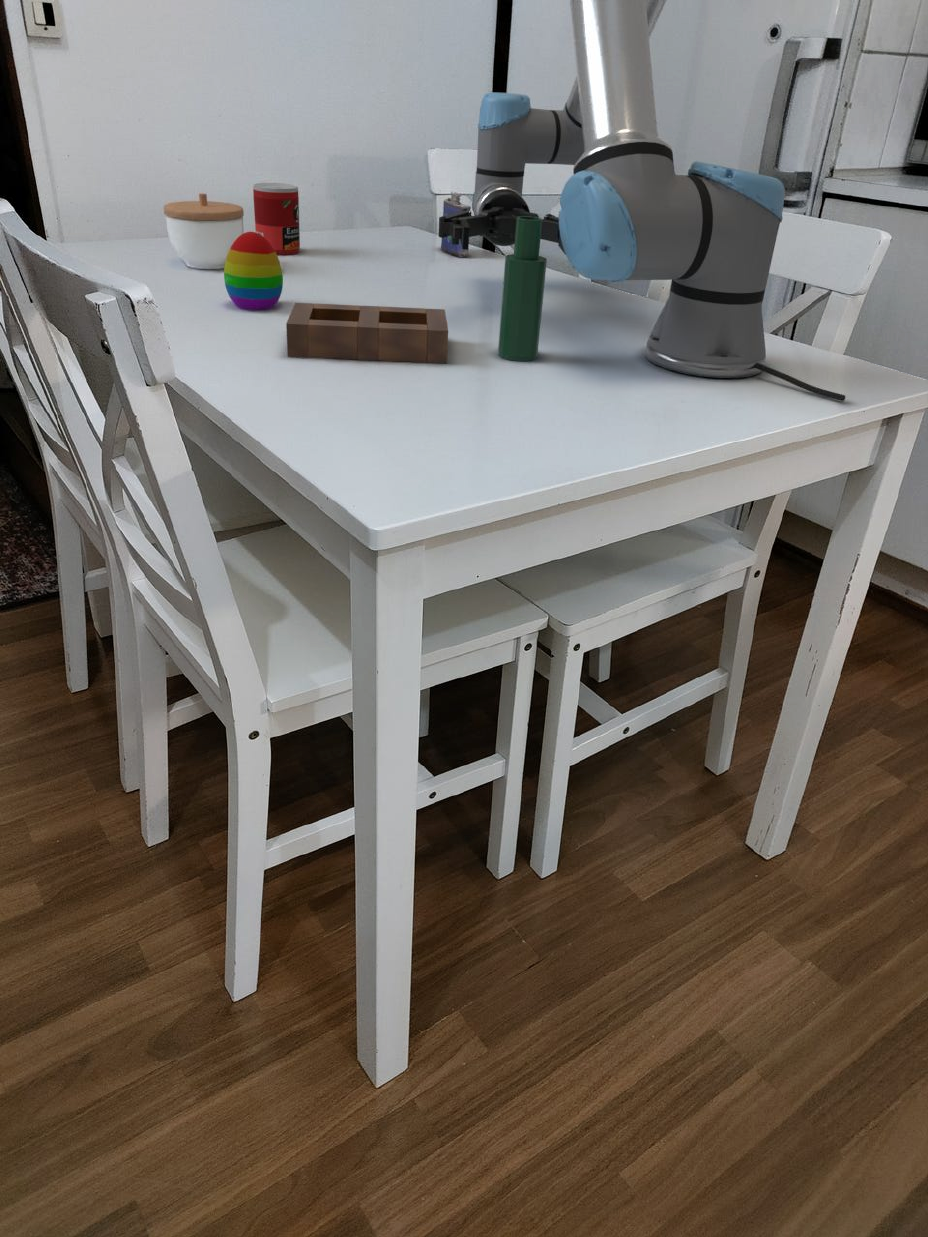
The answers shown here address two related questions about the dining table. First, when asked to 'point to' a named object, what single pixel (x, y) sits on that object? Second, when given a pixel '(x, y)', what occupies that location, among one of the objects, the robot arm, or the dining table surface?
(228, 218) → the lidded bowl
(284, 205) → the canned food
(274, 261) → the decorative egg
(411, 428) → the dining table surface
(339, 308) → the rack
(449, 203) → the flask
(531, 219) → the bottle
